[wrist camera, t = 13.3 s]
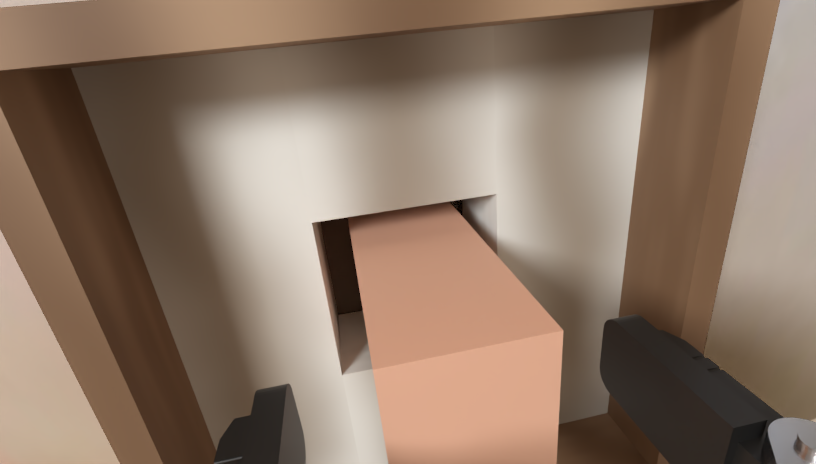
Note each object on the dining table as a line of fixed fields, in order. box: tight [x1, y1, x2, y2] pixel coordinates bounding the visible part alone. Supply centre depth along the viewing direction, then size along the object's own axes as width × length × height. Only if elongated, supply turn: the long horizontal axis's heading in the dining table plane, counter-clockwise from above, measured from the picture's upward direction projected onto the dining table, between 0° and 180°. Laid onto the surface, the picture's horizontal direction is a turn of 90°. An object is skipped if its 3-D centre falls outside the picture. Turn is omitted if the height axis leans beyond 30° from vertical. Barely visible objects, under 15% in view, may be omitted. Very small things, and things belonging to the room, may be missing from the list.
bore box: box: [0, 0, 780, 464], centre depth 15 cm, size 18×18×7 cm
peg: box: [348, 202, 563, 464], centre depth 14 cm, size 4×4×10 cm
